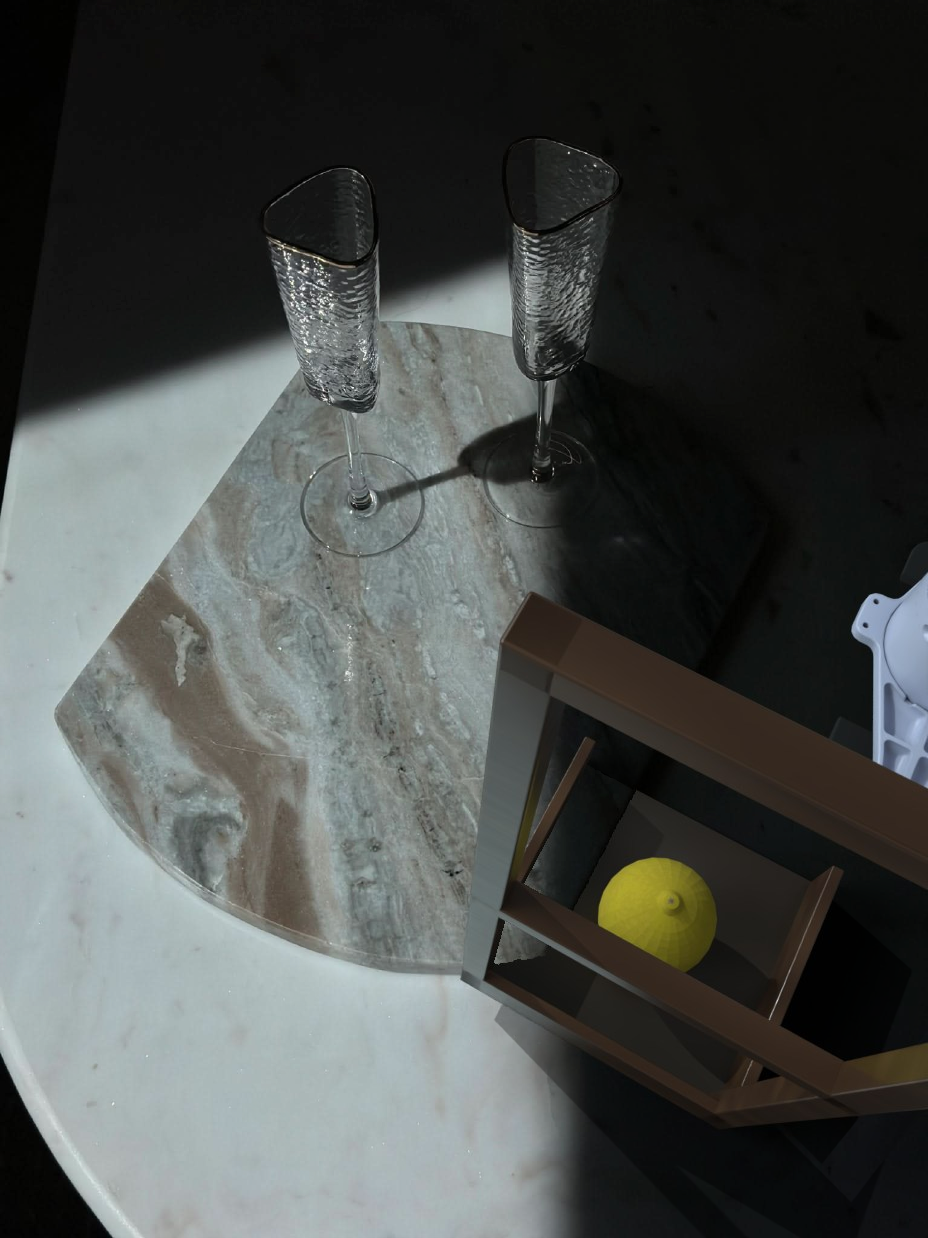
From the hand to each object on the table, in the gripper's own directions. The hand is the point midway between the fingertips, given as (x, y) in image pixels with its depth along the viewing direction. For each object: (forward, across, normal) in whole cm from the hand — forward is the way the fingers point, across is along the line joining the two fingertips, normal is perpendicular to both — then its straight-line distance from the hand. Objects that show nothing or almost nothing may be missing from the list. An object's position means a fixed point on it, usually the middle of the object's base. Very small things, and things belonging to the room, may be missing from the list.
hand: (877, 731), depth 54 cm
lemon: (+9, +12, -5) cm, 16 cm away
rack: (+9, +12, -5) cm, 16 cm away
